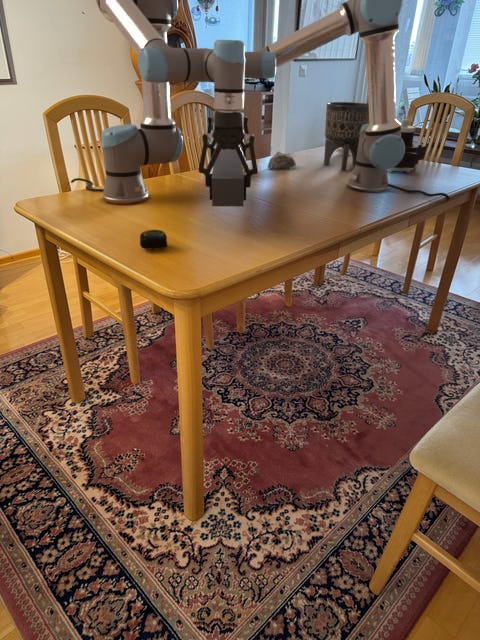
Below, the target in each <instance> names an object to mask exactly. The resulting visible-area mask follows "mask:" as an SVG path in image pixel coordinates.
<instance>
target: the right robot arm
mask: <svg viewBox="0 0 480 640" xmlns="http://www.w3.org/2000/svg"><path fill="white" fill-rule="evenodd" d="M402 8H403V0H346V1H345V2H343V3H341V4H340V5H339V6H338V8H337V10H334V11H333V12H330V13H329V14H327V15H325V16H323V17H321V18H319V19H316V20H315V21H313V22H311V23H309V24H307V25H305V26H304V27H301V28H299V29H298V30H295V31H293V32H292V33H290V34H288V35H286V36H284V37H282V38H280V39H278V40H276V41H275V42H272V43H270V44H269V45H267V46H264V47H263V48H261V49H258V50H257V51H245V59H246V61H245V77H244V79H264V80H265V79H266V80H267V79H273V78H275V77H276V73H277V69H279V68H280V67H282V66H284V65H286V64H288V63H290V62H293V61H294V60H297V59H299V58H300V57H303V56H305V55H307V54H308V53H310V52H313V51H315V50H317V49H318V48H321V47H323V46H325V45H327V44H329V43H331V42H333V41H335V40H337V39H339V38H341V37H343V36H348V37H350V36H352V35H354V34H357V33H358V34H359V40H361V41H362V42H363V43H364V47H365V65H366V83H367V84H366V85H367V101H368V102H367V104H368V105H369V124H365V125H363V126H362V127H361V130H360V133H359V135H360V137H359V144H358V151H357V158H356V165H355V166H354V167H353V171H351V174H350V176H349V179H348V182H347V187H348V188H349V189H351V190H354V191H358V192H363V193H364V192H365V193H382V192H386V191H388V189H389V188H392V189H395V190H398V191H401V192H405V193H408V194H409V193H410V194H421V195H423V196H425V197H426V196H427V197H439V196H441V197H444V198H445V199H451V198H450V196H449V194H447V193H445V192H436V193H429V192H426V191H424V190H420V189H406V188H403V187H400V186H397V185H394V184H390V183H389V178H388V173H387V172H388V169H390V168H393V167H394V166H396V165H397V164H398V163H399V162H400V161H401V160H402V158H403V156H404V153H405V144H404V142H403V139H402V138H401V124H402V122H399V121H398V120H397V109H396V108H397V106H396V104H397V103H396V72H395V71H396V70H395V69H396V68H395V36H396V34H397V33H398V32H399V30H400V29H399V28H400V23H399V22H400V21H399V15H400V14H401V11H402ZM248 120H249V117H248V116H247V115H244V116H243V131H244V134H249V135H250V132H249V127H248ZM207 124H208V126H207V132H206V134H209V133H212V128H213V124H214V115H212V116H211V115H209V116H208V117H207ZM216 145H217V143H216V141H215V140H214V138H212V140H211V143H210V142H209V143H208V147H207V149H209V151H210V159H211V158H212V155H213V153H214V151H215V149H216ZM240 148H241V150H242V153H243V155H244V157H245V159H246V158H247V152H246V151H247V149H249V143H247V142H246V143H245V141H244V139H243V140H242V142H241V143H240Z"/></svg>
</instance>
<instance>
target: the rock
mask: <svg viewBox="0 0 480 640" xmlns="http://www.w3.org/2000/svg"><path fill="white" fill-rule="evenodd" d="M296 164H297V163H296V159H294V157H292V156H291V155H288V154H286V153H283V152H281V151H277V152H276V153H275V154H274V155H273V156H272V157H271V158H270V159H269V161H268V164H267V168H268V169H269V170H271V169H272V170H274V171H282V170H290V169H291V168H293V167H296V166H297V165H296Z"/></svg>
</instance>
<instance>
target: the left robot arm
mask: <svg viewBox="0 0 480 640" xmlns="http://www.w3.org/2000/svg"><path fill="white" fill-rule="evenodd" d="M95 1H96V4H97V7H98V9H99V10H100V12H101V14H102V15H103V16H104V18H105V19H106V20H108V21H109V22H110V23H113V24H114V25H115V26H116V28H117V29H118V30H119V32H120V34H122V36H123V37H124V38H125V40H126V41H127V42H128V44H129V45H130V46H131V48H132V49H133V50H134V52H135V53H136V55H137V67H138V71H139V73H140V77H141V89H142V98H143V99H142V100H143V101H142V102H143V114H144V115H143V118H142V119H141V120H140V122H139V123H140V128H138V127H137V125H136V124H133V123H132V124H131V123H129V124H128V123H127V124H118V125H113V126H110V127H107V128H105V129H103V131H102V132H101V135H100V136H101V148H102V155H103V164H104V170H105V181H104V187H103V188H92V186H93V185H94V183H93V181H91V180H88V179H85V178H80V177H77V178H73V179H72V180H70V184H73V183H74V182H76V181H81V182H86V183H88V184H86V185H85V190H87V191H90V192H102V198H103V199H102V200H103V201H104V202H105V203H108V204H112V205H135V204H140V203H143V202H145V201H147V200H148V199H149V191H148V189H147V186H146V184H145V181H144V179H143V177H142V169H141V168H142V166H152V165H162V164H163V165H167V164H170V163H175V162H177V161H178V160H179V159H180V157H181V155H182V152H183V147H184V138H183V135H182V130H181V129H180V128H179V127H178V126H177V125H176V121H175V120H174V119H173V118H172V116H171V99H170V98H171V97H170V96H171V95H170V83H212V84H213V109H214V110H215V111H214V112H213V116H214V123H213V131H212V132H211V133H209V134H207V132H204V133H202V150H201V155H200V159H199V165H198V173H200V174H203V175H204V184H205V187H206V188H209V201H212V173H211V172H212V171H213V166H214V163H215V161H216V159H217V157H218V155H219V153H220V151H221V149H223V150H226V149H231V150H234V149H236V151H237V154H238V156H239V158H240V160H241V163H242V165H243V167H244V170H245V172H246V173H245V174H244V201H247V189H250V188H251V186H252V185H251V184H252V183H251V182H252V176H253V175H257V174H258V173H259V171H258V164H257V159H256V152H255V146H254V145H255V135H254V134H253V133H251V134H250V133H249V134H245V130H244V123H243V117H244V112H243V110H244V107H245V78H244V77H245V61H246V59H245V52H246V50H245V49H246V46H245V42H244V41H242V40H239V39H216V40H215V41H214V43H213V48H208V47H207V48H206V47H199V48H196V47H195V48H191V47H189V48H188V47H170V46H169V44H168V37H167V36H168V35H167V32H168V31H169V30H170V28H171V27H172V20H174V19H175V18H176V17H177V14H178V10H179V0H95ZM212 139H214V140H215V141H216V145H217V146H216V145H215V148H216V149H215V151H214V153H213V155H212V158H211V157H210V160H209V161H208V164H207V166H206V168H205V163H206V157H207V153H208V148H207V147H208V143H209V144H210V142H212ZM244 139H245V142H246V144H247V143H249V148H248V149H249V155H250V162H251V167H252V168H250V166H249V164H248V162H247V160H246V158H245V157H244V155H243V153H242V150H241V148H242V147H241V144H240V143H241V142H242V140H243V141H244Z"/></svg>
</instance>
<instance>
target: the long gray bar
mask: <svg viewBox="0 0 480 640" xmlns="http://www.w3.org/2000/svg"><path fill="white" fill-rule="evenodd" d="M216 146H217V144H215V147H216ZM211 174H212V200H211V207H245V200H244V173H243V166H242V163H241V160H240V158H239V156H238V154H237V151H236V149H234V150H231V149H226V150H223V149H221V151H220V153H219V155H218V157H217V159H216V161H215V163H214V166H213V168H212V173H211Z"/></svg>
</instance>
